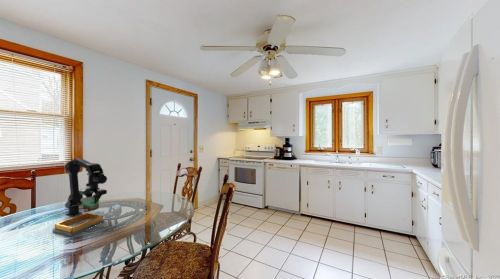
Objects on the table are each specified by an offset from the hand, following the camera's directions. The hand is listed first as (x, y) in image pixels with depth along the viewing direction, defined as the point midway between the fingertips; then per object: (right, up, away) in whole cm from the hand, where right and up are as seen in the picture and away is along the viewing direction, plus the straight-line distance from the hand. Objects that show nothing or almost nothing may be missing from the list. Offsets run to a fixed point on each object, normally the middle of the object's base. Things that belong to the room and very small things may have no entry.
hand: (92, 202), depth 142 cm
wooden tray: (-1, -13, -9) cm, 16 cm away
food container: (+1, -5, 0) cm, 5 cm away
